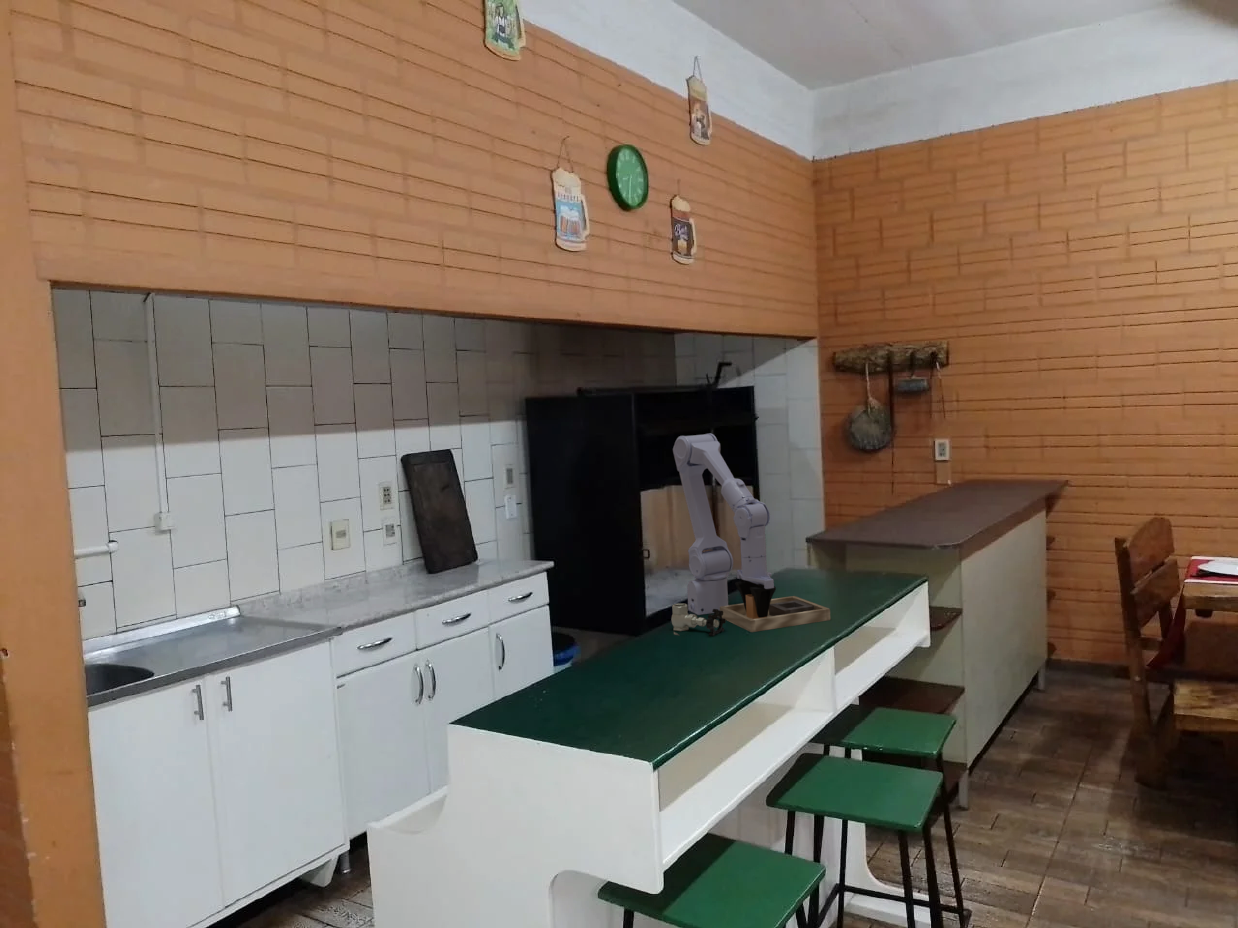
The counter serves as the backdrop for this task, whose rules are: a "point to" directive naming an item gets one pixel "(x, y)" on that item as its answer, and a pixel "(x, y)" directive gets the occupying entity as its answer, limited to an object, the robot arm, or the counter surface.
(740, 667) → the counter surface
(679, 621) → the valve
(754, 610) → the connector
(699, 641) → the counter surface
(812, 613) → the walled box
